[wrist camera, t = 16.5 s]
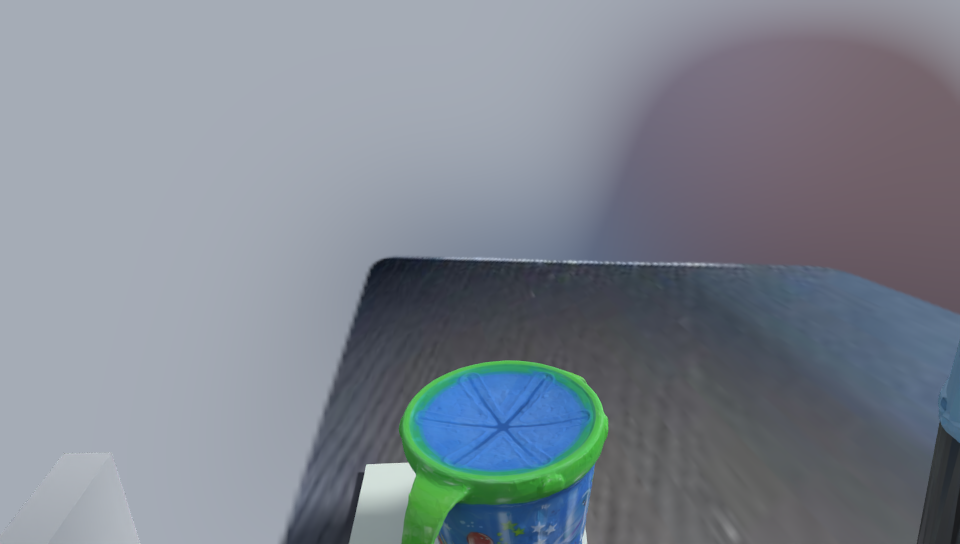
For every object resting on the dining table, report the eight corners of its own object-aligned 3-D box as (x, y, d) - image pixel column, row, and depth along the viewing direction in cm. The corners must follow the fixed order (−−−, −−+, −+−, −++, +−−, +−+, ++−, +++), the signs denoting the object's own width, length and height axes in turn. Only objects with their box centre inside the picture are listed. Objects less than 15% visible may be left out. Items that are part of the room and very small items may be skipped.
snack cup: (492, 708, 41) (476, 543, 37) (347, 601, 48) (319, 450, 43) (666, 523, 51) (670, 377, 47) (527, 456, 58) (519, 322, 53)
